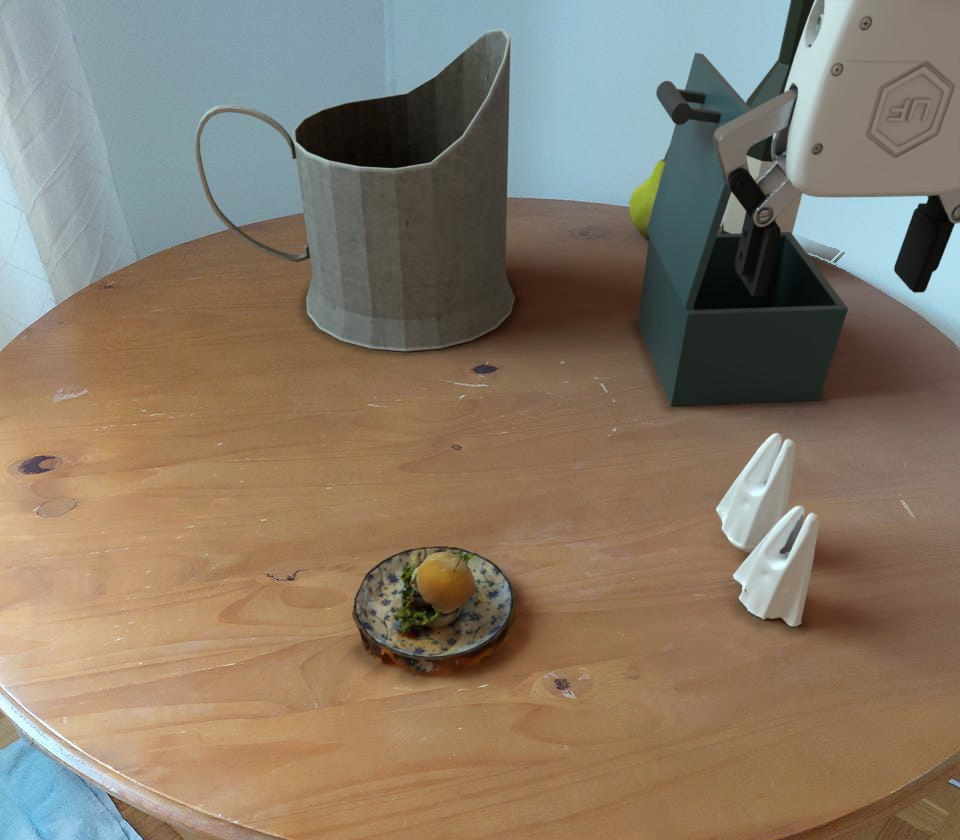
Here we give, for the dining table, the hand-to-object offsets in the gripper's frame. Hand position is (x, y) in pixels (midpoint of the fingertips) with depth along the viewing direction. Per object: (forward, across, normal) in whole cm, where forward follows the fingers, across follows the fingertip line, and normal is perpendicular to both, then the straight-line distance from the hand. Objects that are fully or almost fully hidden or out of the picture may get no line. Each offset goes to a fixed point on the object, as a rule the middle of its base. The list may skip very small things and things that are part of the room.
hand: (829, 284), depth 53 cm
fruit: (+22, +5, +61) cm, 65 cm away
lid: (+5, 0, +31) cm, 31 cm away
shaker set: (+23, 0, -1) cm, 23 cm away
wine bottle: (+22, +15, +53) cm, 60 cm away
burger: (+23, -24, -4) cm, 34 cm away
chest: (+22, +6, +31) cm, 39 cm away
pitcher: (+23, -30, +46) cm, 59 cm away
